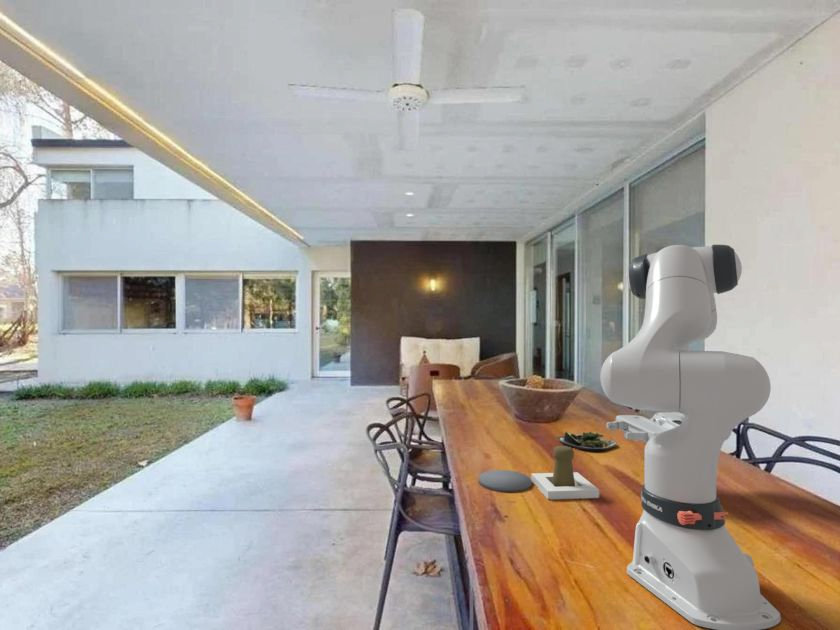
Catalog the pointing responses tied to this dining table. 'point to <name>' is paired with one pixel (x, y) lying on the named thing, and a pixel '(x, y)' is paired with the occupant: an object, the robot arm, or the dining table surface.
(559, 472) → the olive pawn
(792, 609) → the dining table surface
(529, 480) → the charcoal mat
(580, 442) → the salad plate
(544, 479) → the white square frame
